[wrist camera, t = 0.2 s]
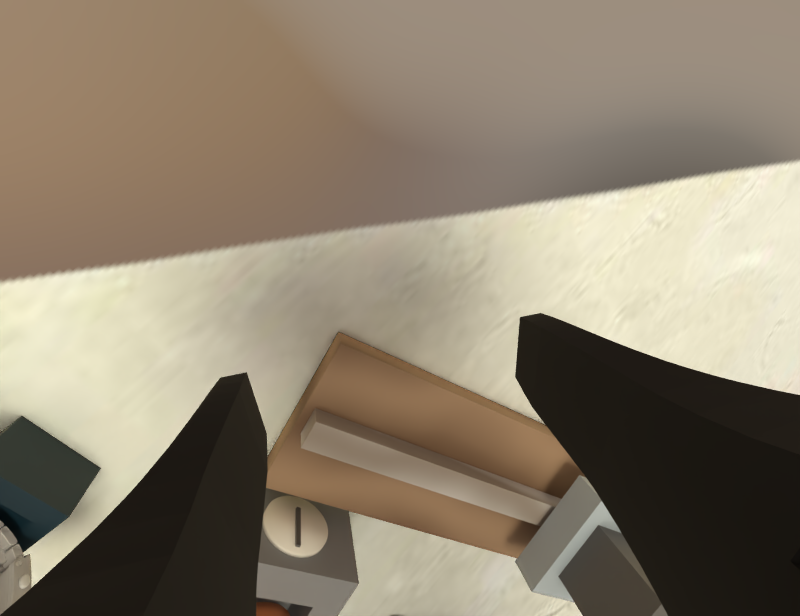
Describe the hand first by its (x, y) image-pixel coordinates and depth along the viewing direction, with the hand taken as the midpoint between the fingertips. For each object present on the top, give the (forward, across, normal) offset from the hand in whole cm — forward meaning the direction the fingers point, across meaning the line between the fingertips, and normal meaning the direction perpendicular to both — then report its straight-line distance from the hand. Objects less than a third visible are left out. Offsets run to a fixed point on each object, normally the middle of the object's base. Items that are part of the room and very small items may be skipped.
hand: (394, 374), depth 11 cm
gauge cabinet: (+8, +8, +17) cm, 20 cm away
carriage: (+5, -12, +19) cm, 23 cm away
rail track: (+8, -6, +16) cm, 19 cm away
